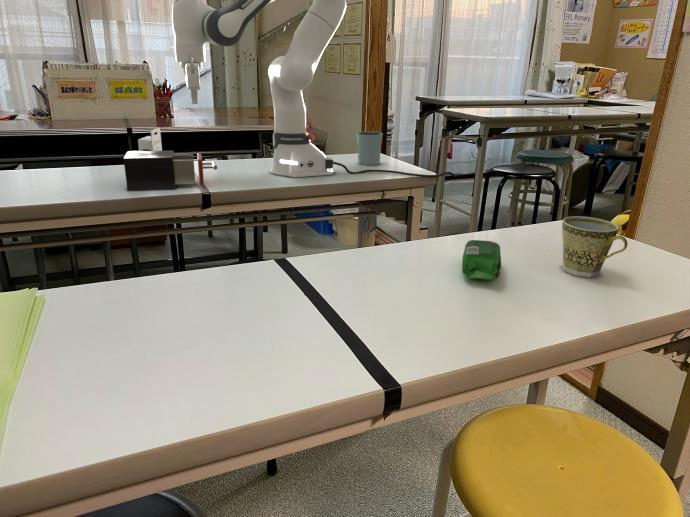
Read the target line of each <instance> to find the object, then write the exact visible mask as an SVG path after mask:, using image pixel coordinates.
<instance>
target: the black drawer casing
mask: <svg viewBox="0 0 690 517" xmlns="http://www.w3.org/2000/svg"><path fill="white" fill-rule="evenodd" d="M173 155H175V152H174V150H162V151H139V150H128V151H127V152H126V153H125V155H124V157H123V166H124V174H125V181H126V182H125V184H126V190H127V192H131V191H160V190H176V188H177V187H176V186H177V184H175V177H174V166H173Z"/></svg>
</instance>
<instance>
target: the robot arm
mask: <svg viewBox="0 0 690 517" xmlns="http://www.w3.org/2000/svg"><path fill="white" fill-rule="evenodd" d="M275 1H276V0H236V1H234V2H233V3H232V4H230V5H228V6H225V7H219V8H214V7H212V6H210V5H208V4H207V3H205V2H204V1H202V0H174V2H173V3H172V7H171V22H172V23H171V24H172V31H173V33H174V53H175V54H174V55H175V62H176V63H180V68H181V69H183V70H182V71H183V74H184V80H185V85H186V88H187V90H189V94H190V101H191V105H197V104H198V91H200V90H201V76H200V69H203V63H207V55H206V43H209V44H211V45H213V46H221V47H231V46H234V45H236V44H238V42H240V39H241V38H242V37H243V34H244V33H245V29H246V27H247V25H248V24H249V23H250V22H251V21H252V20H253V19H254V18H255V17H256V16H257V15H258V14H259V13H260V12H261V11H262V10H264V8H265V7H266V6H268V5H269V4H271V3H273V2H275ZM346 9H347V2H346V0H313V1H312V3H311V6H310V7H309V8H308V10H307V11H306V13H305V15H304V16H303V17H302V19H301V21H300V23H299V25H298V26H297V28H296V29H295V31H294V33H293V36H292V40H291V42H290V45H289V47H288V49H287V52H286V53H285V55H281V56H277V57H276V58H274V60H272V61H271V62H270V63H269V66H268V71H267V75H268V78H269V85H270V92H271V99H272V104H273V125H274V126H273V128H274V129H273V132H272V147H273V157H272V163H271V167H270V173H271V174H274V175H277V176H286V177H290V178H305V177H317V176H318V177H319V176H320V177H321V176H331V175H333V174H334V169H333V168H334V165H336V166H338V167H342V168H344V170H345V171H346V173H347V174H349V175H357V174H358V175H359V174H364V173H387V174H398V175H403V176H404V175H405V176H411V177H418V178H419V177H421V178H439V177H443V176H445V175H450V176H452V177H455V178H456V174H454V173H453V172H451V171H444V172H442V173H439V174H420V173H411V172H404V171H399V170H398V171H397V170H388V169H363V170H359V171H352V170H349V169H348V167H347V166H346V165H345V164H343V163H341V162H337V161H334V157H331V156H330V157H329V156H328V157H327V156H326V154H325V153H324V152H323V151H321V150H320V149H319V148H318V147H317V146H316V145H314V144H313V143H312V142H313V141H315V139H316V137H315V135H314V134H311V133H309V132H308V131H307V107H306V105H305V102H304V96H303V90H306V89H307V88H308V87H310V85H311V84H312V82H313V80H314V74H315V72H316V69H317V67H318V64H319V62H320V59H321V57H322V55H323V53H324V51H325V49H326V47H327V46H328V45H329V43H330V41H331V39H332V38H333V36H334V34H335V33H336V31H337V29H338V27H339V26H340V24H341V22H342V20H343V18H344V15H345V12H346Z"/></svg>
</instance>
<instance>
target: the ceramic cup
mask: <svg viewBox="0 0 690 517" xmlns="http://www.w3.org/2000/svg"><path fill="white" fill-rule="evenodd" d="M561 226H562V227H561V229H562V230H561V232H562V233H561V234H562V268H563V271H564V272H565V273H568V274H570V275H573V276H575V277H581V278H594V277H598V276H599V275H600V272H601V270H602V268H603V266H604V263H605V261H606V260H607V259H609V258H611V257H613V256H614V255H617V254H620V253H623V252H624V251H625V250H626V249H627V247H628V240H627V238H626V237H625V236H623V235H617V234H618V232H619V230H620V228H619V225H617V224H616V223H614V222H612V221H609V220H606V219H601V218H598V217H590V216H582V215H581V216H578V215H577V216H573V215H572V216H567V217H564V218H562V225H561ZM616 240H620V241H622V242H623V248H622V249H620V250H617V251H614V252H612V253H610V254H609V252H610V250H611V248H612V246H613V244H614V241H616Z"/></svg>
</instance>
